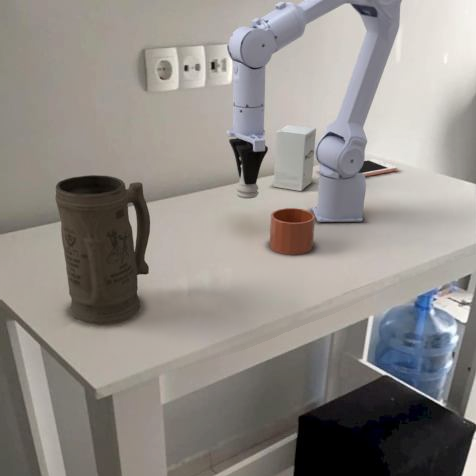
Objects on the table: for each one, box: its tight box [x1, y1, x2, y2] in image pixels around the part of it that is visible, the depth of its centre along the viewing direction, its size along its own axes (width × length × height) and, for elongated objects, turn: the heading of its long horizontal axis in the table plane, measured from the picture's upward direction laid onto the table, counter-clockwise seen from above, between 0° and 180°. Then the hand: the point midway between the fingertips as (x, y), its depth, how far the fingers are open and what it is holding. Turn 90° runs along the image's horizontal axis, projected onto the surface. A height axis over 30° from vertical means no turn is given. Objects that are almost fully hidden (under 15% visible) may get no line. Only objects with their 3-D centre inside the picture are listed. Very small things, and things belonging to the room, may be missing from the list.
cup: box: [269, 207, 316, 256], centre depth 119 cm, size 8×8×6 cm
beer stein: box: [55, 174, 151, 325], centre depth 96 cm, size 15×11×20 cm
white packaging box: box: [273, 124, 317, 192], centre depth 147 cm, size 7×7×13 cm
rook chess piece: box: [235, 158, 260, 200], centre depth 121 cm, size 4×4×8 cm
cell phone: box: [358, 158, 398, 177], centre depth 159 cm, size 9×18×1 cm, turn 120°
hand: (247, 180), depth 122 cm, fingers closed on rook chess piece, 3 cm apart
